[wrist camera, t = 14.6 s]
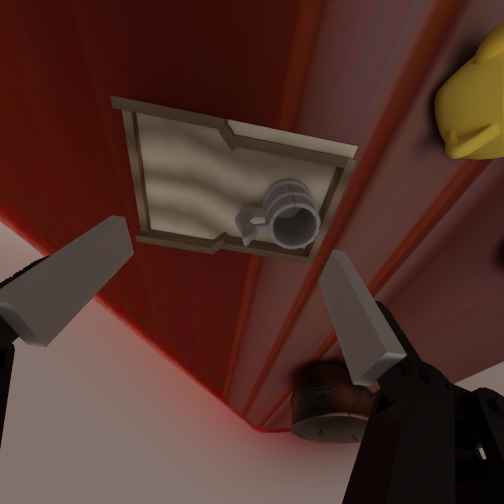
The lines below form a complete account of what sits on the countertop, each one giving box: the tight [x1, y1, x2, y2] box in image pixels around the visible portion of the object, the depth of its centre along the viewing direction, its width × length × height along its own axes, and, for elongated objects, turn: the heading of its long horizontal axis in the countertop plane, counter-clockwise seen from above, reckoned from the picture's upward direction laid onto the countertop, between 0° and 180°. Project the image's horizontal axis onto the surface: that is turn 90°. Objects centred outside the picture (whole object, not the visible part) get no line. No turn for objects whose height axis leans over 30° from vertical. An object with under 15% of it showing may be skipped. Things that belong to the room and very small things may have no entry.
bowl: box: [291, 363, 375, 444], centre depth 58 cm, size 25×25×15 cm
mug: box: [234, 179, 321, 249], centre depth 27 cm, size 8×12×12 cm, turn 99°
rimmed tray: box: [110, 95, 358, 264], centre depth 31 cm, size 20×32×4 cm, turn 80°
